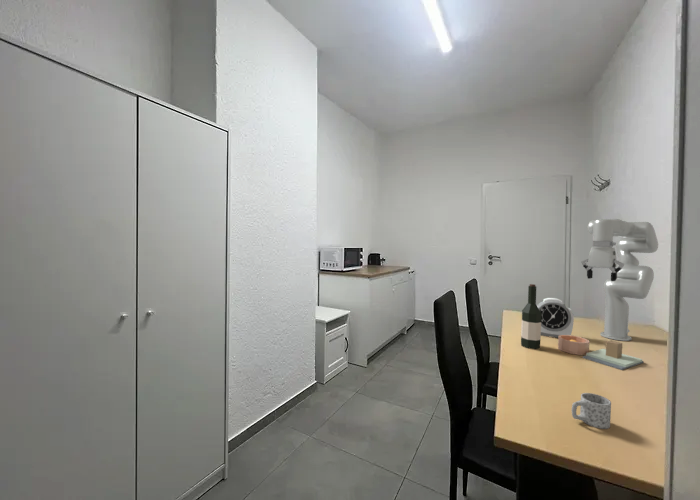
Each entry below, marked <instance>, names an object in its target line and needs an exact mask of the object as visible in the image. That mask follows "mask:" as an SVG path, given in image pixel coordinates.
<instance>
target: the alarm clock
mask: <svg viewBox="0 0 700 500" xmlns="http://www.w3.org/2000/svg"><path fill="white" fill-rule="evenodd" d="M542 300H543V301H540V302H539V303H538V304H536V305H537V307H538V309H539V310H540V312H541V337H542V336H543V337H549V338H557V339H558V336H559V335H572V333H573V329H574V321H575V319H574V313H573V311H572V309H571V308H570V307H567V306H566V305H565V304H564V302H563V300H562V299H559V298H557V297H546V298H543V299H542Z"/></svg>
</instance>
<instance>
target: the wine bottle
mask: <svg viewBox="0 0 700 500" xmlns="http://www.w3.org/2000/svg"><path fill="white" fill-rule="evenodd" d="M527 290H528V293H527V297H528V298H527V303H526V305H525V306H524V308H523V309H522V310H521V329H520V330H521V332H520V333H521V334H520V345H521V347H523V348H525V349H528V350H529V349H530V350H539V349H541V340H542V339H541V337H542V336H541V312H540V310H539V309H538V307H537V305H538V304H537V285H536V284H533V283H530V284H529V285H528V289H527Z"/></svg>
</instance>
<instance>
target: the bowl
mask: <svg viewBox="0 0 700 500" xmlns="http://www.w3.org/2000/svg"><path fill="white" fill-rule="evenodd" d="M570 340H576V341H577V342H573V341H570ZM557 341H558V342H557V349H558V350H559V351H561V352H564V353H567V354H571V355H577V356H586V353H589V352H590V340H589V339H587V338H585V337H580V336H578V335H572V334H571V335H559V336H558V338H557Z"/></svg>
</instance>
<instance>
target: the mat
mask: <svg viewBox="0 0 700 500" xmlns="http://www.w3.org/2000/svg"><path fill="white" fill-rule="evenodd" d="M582 359H586V360H588V361H592V362H595V363H598V364H600V365H605V366H607V367H610V368H615V369H616V370H620V371H623V370H625V369H630V368H632V367H635V366H638V365H640V364H644V362H645V361H644V360H642V362H640V363H637V364H634V365H631V366H628V367H623V366H620V365H616V364H613V363H610V362H607V361H603V360H600V359H597V358H593V357H590V356H587V355H582Z"/></svg>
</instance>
